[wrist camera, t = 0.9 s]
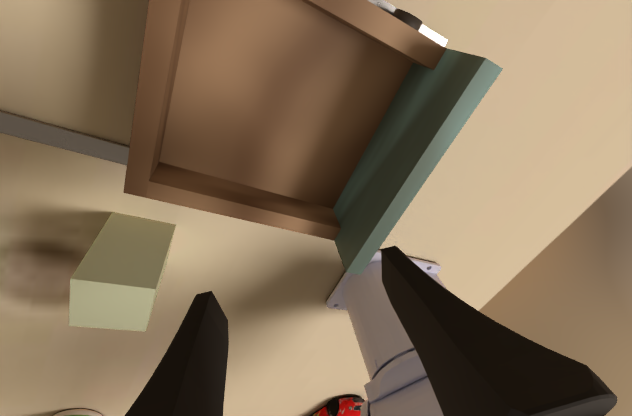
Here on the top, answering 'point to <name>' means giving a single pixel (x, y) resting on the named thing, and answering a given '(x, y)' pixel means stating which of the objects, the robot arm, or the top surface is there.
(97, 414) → the supplement bottle
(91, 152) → the rails
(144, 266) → the sage block
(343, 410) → the race car
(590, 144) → the top surface
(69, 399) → the top surface
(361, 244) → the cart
